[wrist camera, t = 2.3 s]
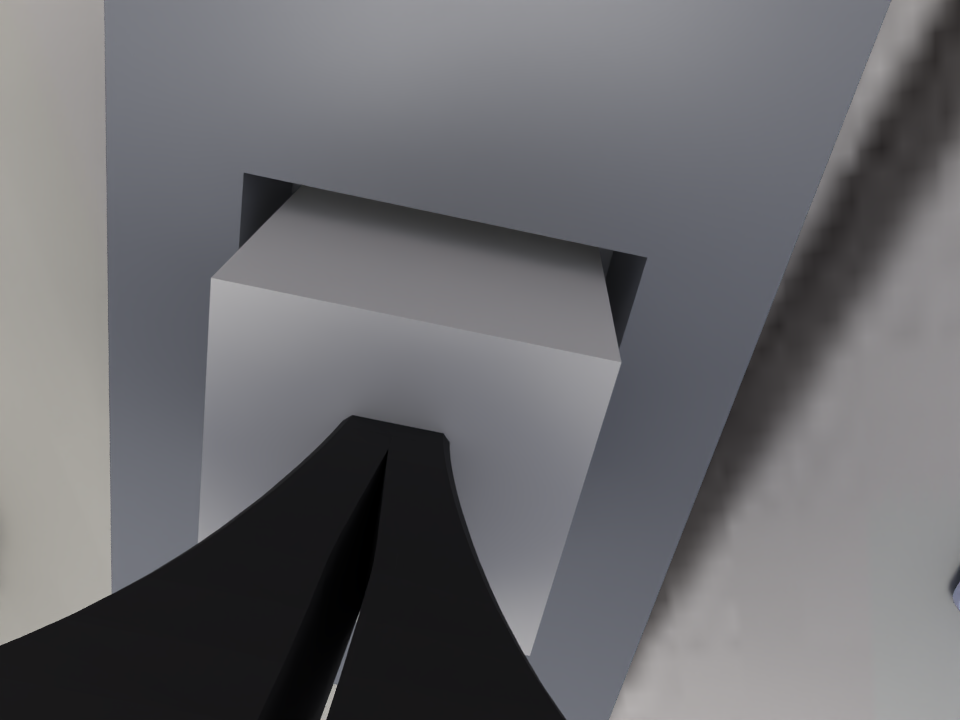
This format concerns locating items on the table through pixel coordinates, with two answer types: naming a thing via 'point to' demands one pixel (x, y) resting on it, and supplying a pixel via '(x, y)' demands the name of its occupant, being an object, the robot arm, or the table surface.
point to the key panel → (482, 198)
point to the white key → (415, 367)
